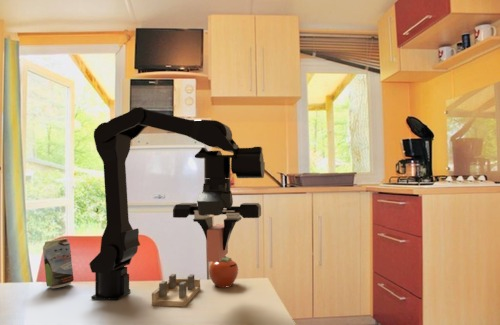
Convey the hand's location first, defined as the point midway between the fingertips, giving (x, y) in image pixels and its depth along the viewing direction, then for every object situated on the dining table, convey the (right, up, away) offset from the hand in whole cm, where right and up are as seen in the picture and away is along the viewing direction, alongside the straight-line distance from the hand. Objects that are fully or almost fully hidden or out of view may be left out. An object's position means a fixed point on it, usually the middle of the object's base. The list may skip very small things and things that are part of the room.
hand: (218, 249), depth 81 cm
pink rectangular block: (0, -2, 0) cm, 2 cm away
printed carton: (-41, -12, +12) cm, 44 cm away
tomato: (0, -12, +12) cm, 17 cm away
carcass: (-9, -11, +3) cm, 15 cm away
